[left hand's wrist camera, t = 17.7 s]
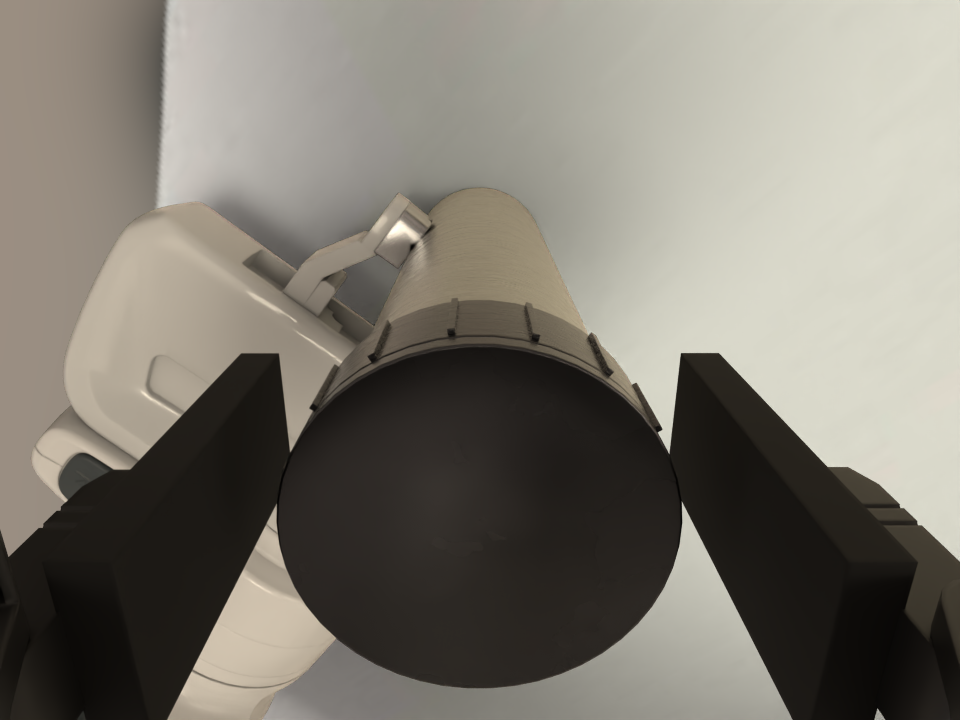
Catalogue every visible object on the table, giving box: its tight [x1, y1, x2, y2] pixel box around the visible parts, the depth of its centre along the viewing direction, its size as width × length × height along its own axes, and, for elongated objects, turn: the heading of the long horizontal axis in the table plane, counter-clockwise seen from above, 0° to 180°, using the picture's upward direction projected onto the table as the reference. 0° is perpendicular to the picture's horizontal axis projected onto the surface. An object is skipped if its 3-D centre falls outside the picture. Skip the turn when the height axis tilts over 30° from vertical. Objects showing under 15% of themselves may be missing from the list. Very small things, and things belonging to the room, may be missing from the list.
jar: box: [370, 188, 588, 335], centre depth 20 cm, size 5×5×20 cm
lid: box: [276, 298, 682, 688], centre depth 11 cm, size 6×6×2 cm
